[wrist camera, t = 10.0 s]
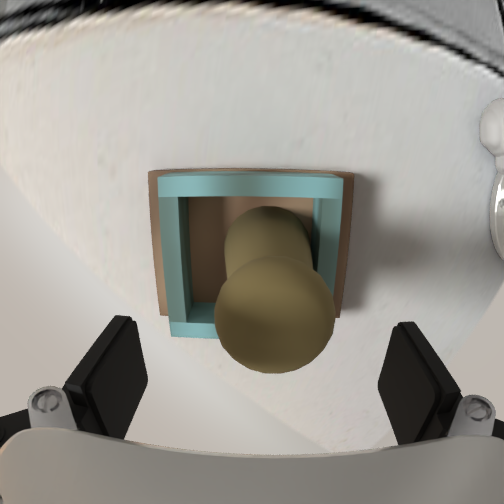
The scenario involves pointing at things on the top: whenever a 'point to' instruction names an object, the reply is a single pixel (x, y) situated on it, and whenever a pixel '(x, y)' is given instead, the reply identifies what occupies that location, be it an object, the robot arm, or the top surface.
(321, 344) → the cork
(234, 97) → the top surface
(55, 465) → the robot arm
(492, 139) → the rubber duck
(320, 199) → the board
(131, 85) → the top surface
